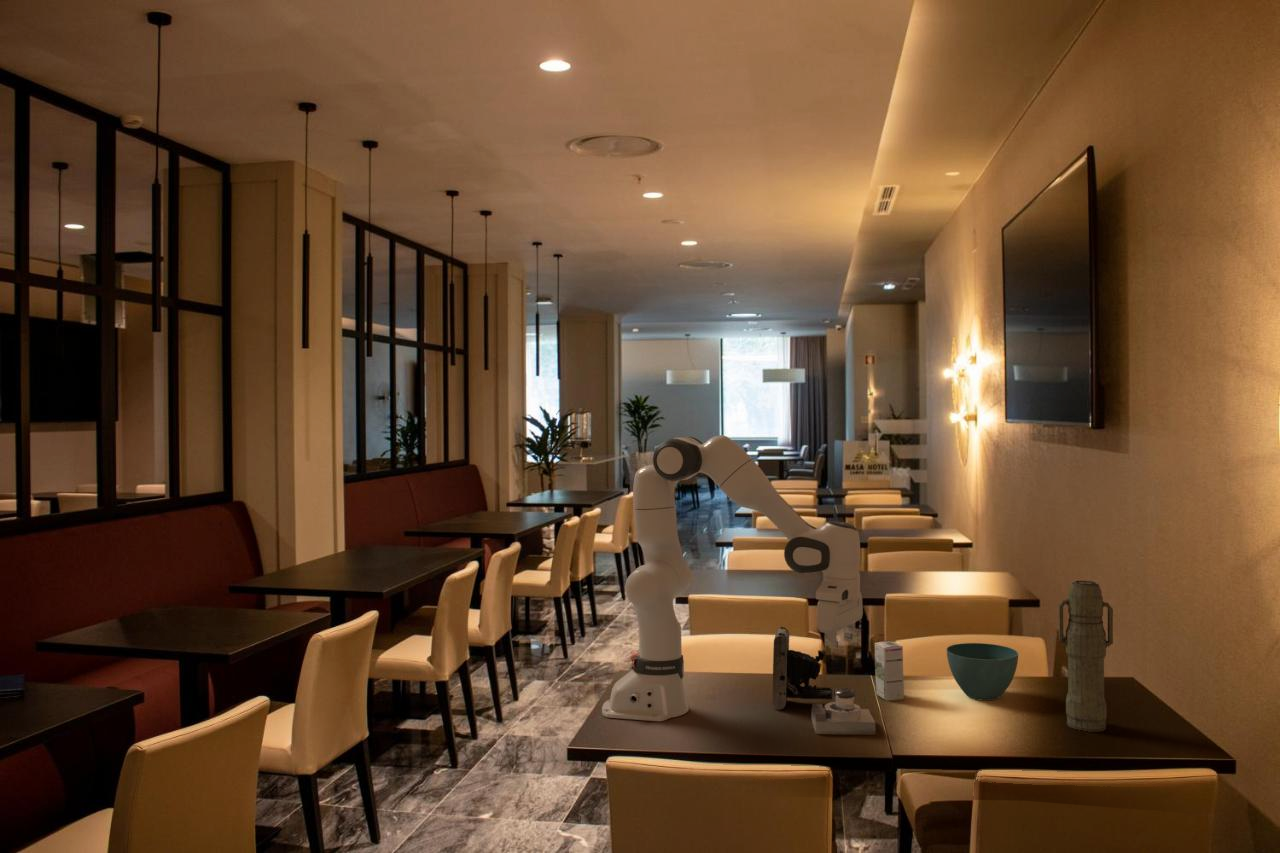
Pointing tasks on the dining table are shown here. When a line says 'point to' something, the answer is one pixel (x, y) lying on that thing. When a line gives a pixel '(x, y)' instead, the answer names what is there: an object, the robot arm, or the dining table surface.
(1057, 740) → the dining table surface
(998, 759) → the dining table surface
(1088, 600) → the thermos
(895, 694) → the syrup box
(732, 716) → the dining table surface
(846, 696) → the knob
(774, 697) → the vintage camera
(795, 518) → the robot arm
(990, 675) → the teal bowl
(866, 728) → the mount
